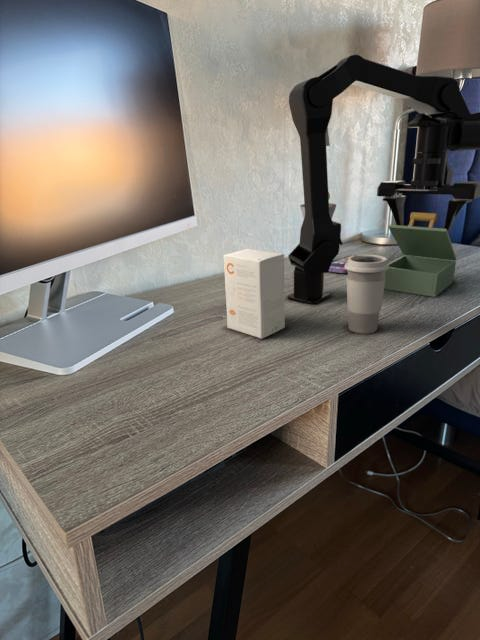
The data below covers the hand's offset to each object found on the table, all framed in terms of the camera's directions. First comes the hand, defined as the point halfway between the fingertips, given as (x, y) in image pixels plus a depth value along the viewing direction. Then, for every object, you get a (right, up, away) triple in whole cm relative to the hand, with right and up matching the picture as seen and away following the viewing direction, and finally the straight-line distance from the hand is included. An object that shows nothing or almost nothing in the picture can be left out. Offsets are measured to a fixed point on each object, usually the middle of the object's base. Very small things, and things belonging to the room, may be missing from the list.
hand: (422, 232), depth 92 cm
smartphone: (-10, -4, +21) cm, 24 cm away
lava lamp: (-17, -3, +25) cm, 31 cm away
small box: (-35, -20, -15) cm, 43 cm away
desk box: (+1, -11, +4) cm, 11 cm away
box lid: (+1, -2, +2) cm, 3 cm away
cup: (-17, -20, -17) cm, 31 cm away
